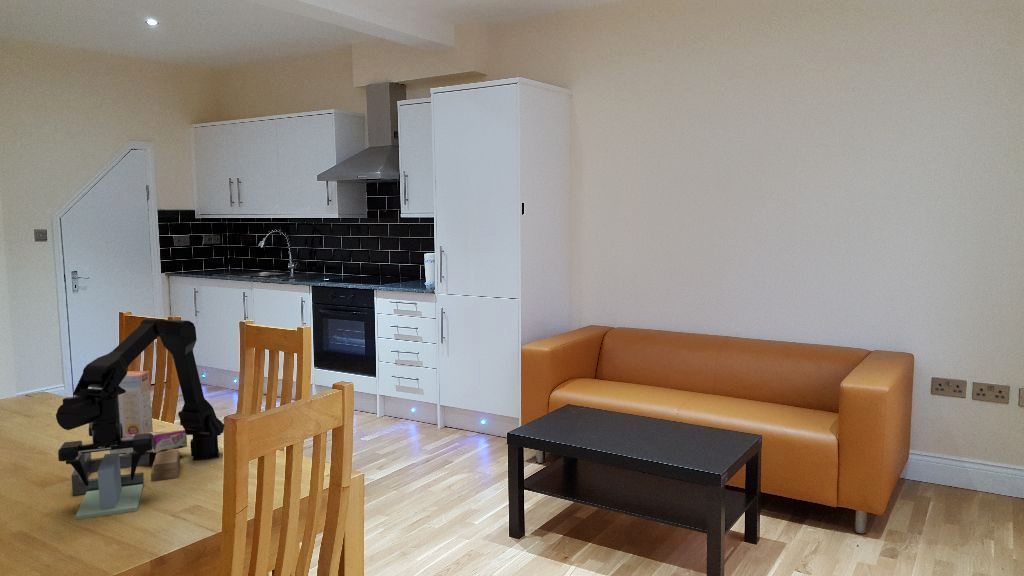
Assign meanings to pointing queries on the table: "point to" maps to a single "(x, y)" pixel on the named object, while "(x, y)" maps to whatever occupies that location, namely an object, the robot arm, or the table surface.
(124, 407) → the cracker box
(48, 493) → the table surface
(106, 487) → the grey panel
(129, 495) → the mat
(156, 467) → the offcut pile
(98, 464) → the rack
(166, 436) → the candy bar box
